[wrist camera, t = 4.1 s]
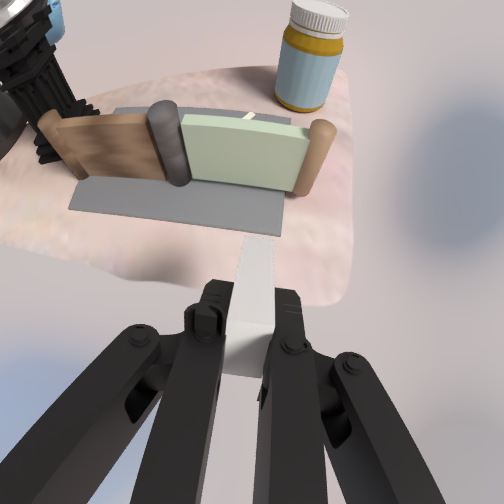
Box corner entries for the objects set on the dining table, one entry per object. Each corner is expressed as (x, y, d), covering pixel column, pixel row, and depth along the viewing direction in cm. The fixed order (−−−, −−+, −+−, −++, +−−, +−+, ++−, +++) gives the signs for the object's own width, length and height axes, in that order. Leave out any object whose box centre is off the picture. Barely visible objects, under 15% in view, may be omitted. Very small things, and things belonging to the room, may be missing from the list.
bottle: (290, 119, 32) (314, 18, 18) (264, 88, 34) (276, -4, 20) (333, 109, 33) (366, 21, 19) (306, 80, 35) (326, -3, 21)
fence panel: (191, 181, 27) (177, 119, 18) (196, 165, 27) (184, 102, 19) (309, 198, 27) (337, 140, 18) (310, 181, 28) (335, 122, 19)
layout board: (69, 209, 27) (67, 207, 26) (116, 109, 32) (115, 107, 31) (280, 236, 27) (280, 234, 27) (290, 120, 32) (291, 117, 32)
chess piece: (41, 164, 29) (-32, 67, 10) (58, 123, 31) (5, 28, 12) (84, 155, 29) (15, 35, 10) (100, 112, 32) (54, 1, 13)
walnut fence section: (73, 179, 28) (33, 128, 18) (81, 163, 28) (45, 110, 19) (189, 188, 28) (171, 120, 18) (194, 169, 28) (180, 100, 19)
